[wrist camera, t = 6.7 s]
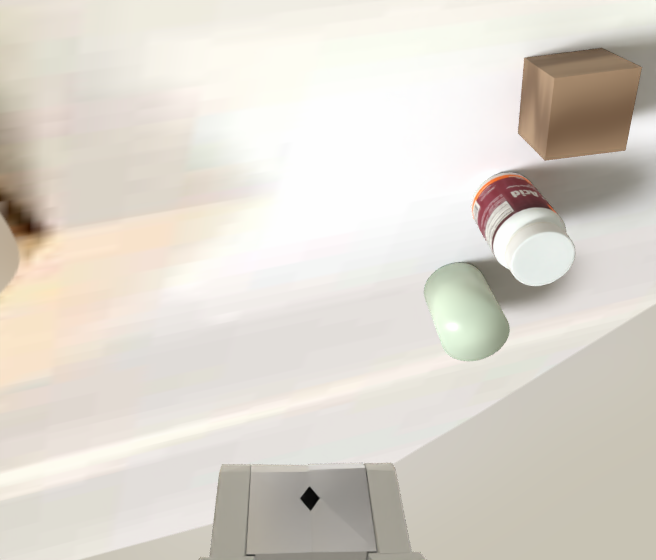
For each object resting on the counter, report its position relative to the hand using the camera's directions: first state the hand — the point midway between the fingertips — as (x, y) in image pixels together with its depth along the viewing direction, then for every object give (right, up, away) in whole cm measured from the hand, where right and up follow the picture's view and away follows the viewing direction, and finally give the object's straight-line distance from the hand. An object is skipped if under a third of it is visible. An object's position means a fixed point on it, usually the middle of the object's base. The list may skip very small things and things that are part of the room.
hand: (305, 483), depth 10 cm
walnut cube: (+16, +16, +28) cm, 36 cm away
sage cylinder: (+11, +3, +36) cm, 38 cm away
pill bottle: (+13, +10, +32) cm, 36 cm away
